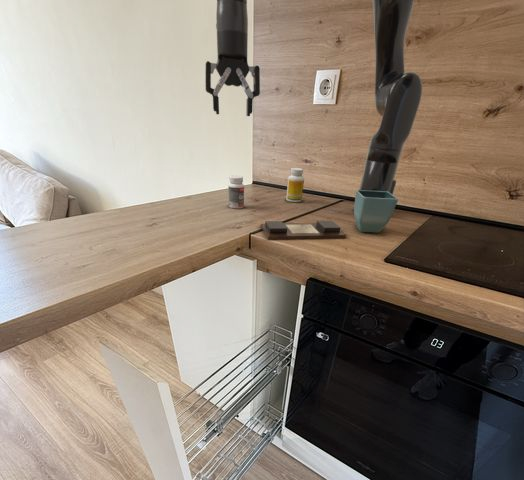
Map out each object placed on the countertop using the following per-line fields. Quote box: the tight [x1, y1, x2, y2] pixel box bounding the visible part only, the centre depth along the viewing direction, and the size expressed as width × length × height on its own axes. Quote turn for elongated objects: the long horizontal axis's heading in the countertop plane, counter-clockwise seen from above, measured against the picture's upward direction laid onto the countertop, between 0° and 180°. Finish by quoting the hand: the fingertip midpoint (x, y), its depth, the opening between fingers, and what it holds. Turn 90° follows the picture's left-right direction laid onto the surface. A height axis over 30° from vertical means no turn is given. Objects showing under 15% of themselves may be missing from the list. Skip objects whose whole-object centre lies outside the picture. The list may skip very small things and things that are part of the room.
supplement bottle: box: [285, 167, 305, 203], centre depth 102 cm, size 5×5×10 cm
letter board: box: [260, 220, 347, 240], centre depth 78 cm, size 20×10×2 cm, turn 101°
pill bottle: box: [227, 175, 245, 210], centre depth 93 cm, size 5×5×8 cm
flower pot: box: [353, 189, 399, 234], centre depth 80 cm, size 9×9×9 cm
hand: (233, 115), depth 84 cm, fingers open, 8 cm apart
